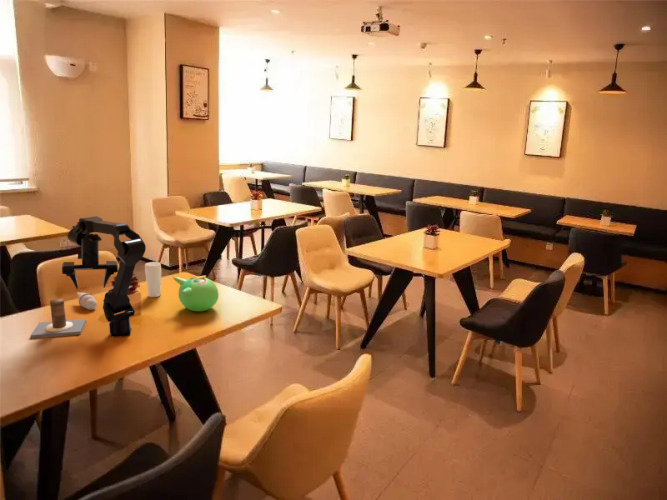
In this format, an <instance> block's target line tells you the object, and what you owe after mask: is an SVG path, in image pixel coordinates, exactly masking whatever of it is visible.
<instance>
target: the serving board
mask: <svg viewBox="0 0 667 500" xmlns="http://www.w3.org/2000/svg"><path fill="white" fill-rule="evenodd" d="M86 324H87V319H86V318H84V319H83V318H82V319H81V318H80V319H69V320H67V319H66V326H65V327H63V328H53V325H52V321H43V322H40V321H39V322H38V324H37V325H36V327H35V328H34V329H33V331H32V332H31V334H30V339H39V338H40V339H41V338H52V337H64V336H65V337H67V336H77V335H81V334H82V333H83V330H84V328H85V325H86Z"/></svg>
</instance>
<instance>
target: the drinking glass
mask: <svg viewBox="0 0 667 500" xmlns="http://www.w3.org/2000/svg"><path fill="white" fill-rule="evenodd" d="M161 264H162V263H160V262H159V261H150V262H146V263H145V264H144V273H145V280H146V287H147V295H148V297H149V298H158V297H160V296H161V295H162V293H161V290H162V289H161V287H162V286H161V285H162V265H161Z"/></svg>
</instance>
